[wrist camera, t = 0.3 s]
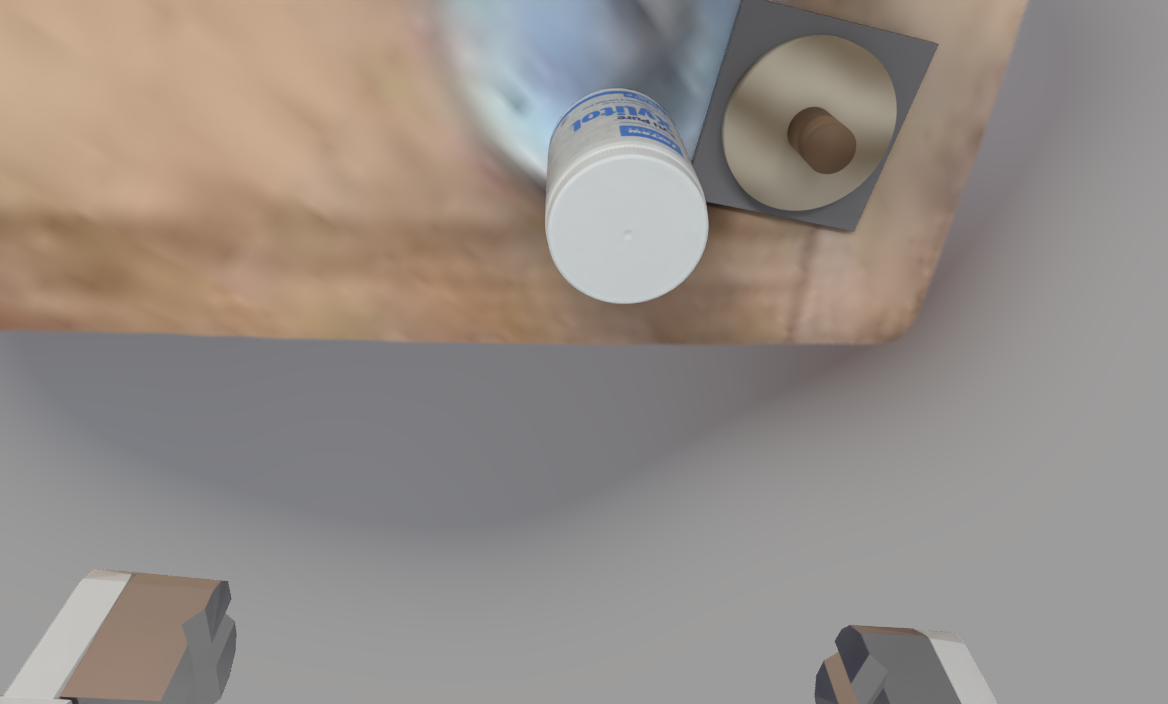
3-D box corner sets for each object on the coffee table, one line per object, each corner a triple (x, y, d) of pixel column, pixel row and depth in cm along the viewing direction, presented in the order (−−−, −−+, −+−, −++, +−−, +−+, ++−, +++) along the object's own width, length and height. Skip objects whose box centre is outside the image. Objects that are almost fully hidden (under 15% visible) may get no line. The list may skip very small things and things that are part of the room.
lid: (754, 16, 48) (778, 31, 43) (918, 56, 50) (959, 75, 45) (699, 186, 54) (715, 218, 49) (847, 217, 56) (876, 250, 51)
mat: (743, -5, 48) (745, -4, 47) (934, 42, 50) (938, 44, 49) (682, 194, 55) (683, 196, 55) (851, 228, 57) (853, 231, 57)
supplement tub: (663, 68, 50) (699, 129, 38) (688, 194, 55) (728, 284, 43) (529, 107, 51) (522, 178, 39) (566, 227, 56) (570, 324, 44)
